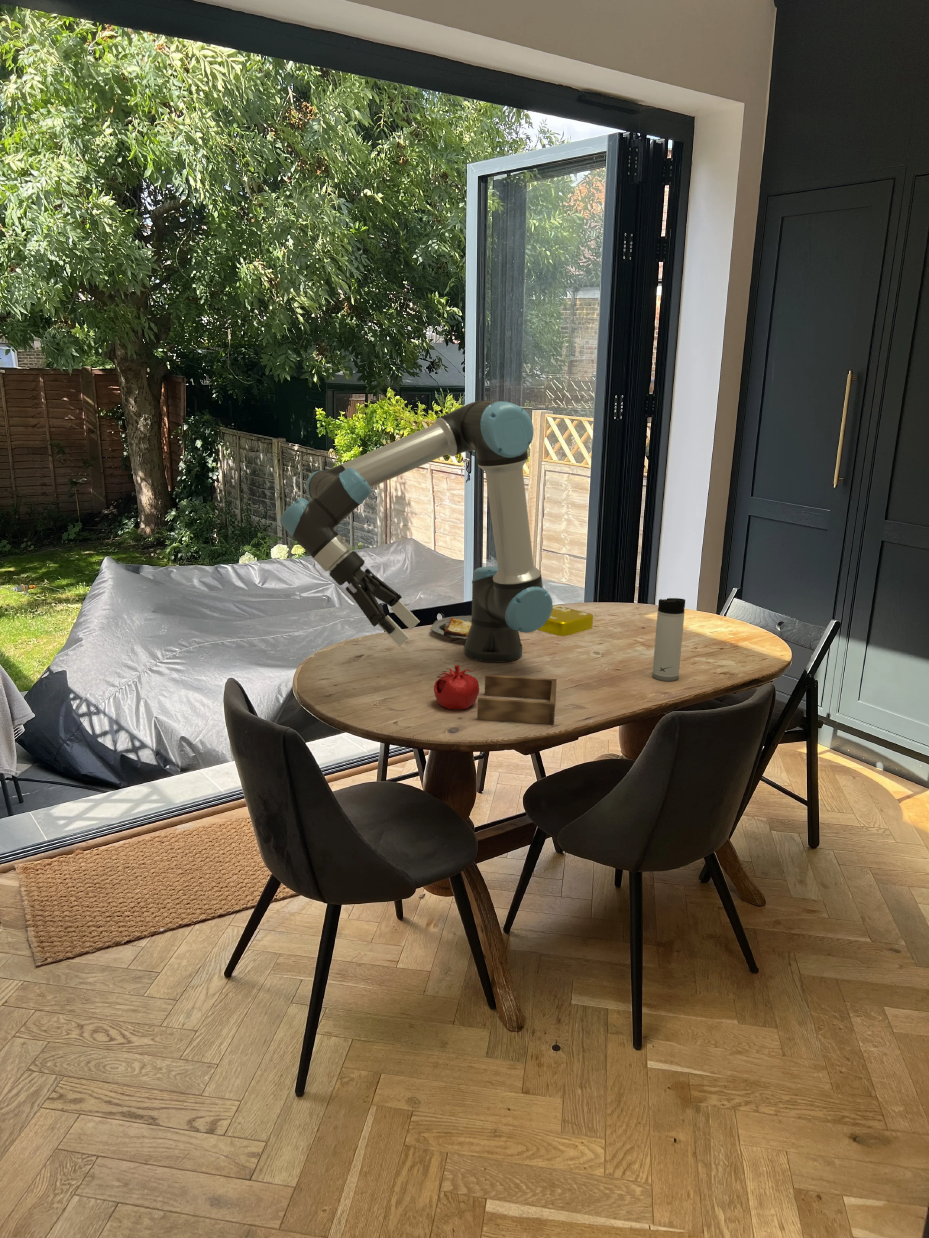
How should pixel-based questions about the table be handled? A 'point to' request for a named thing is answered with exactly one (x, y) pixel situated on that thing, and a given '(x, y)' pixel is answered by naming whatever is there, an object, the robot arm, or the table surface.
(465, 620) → the food plate
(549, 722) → the box
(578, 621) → the element tile
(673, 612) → the travel mug
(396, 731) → the table surface
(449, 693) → the pomegranate
